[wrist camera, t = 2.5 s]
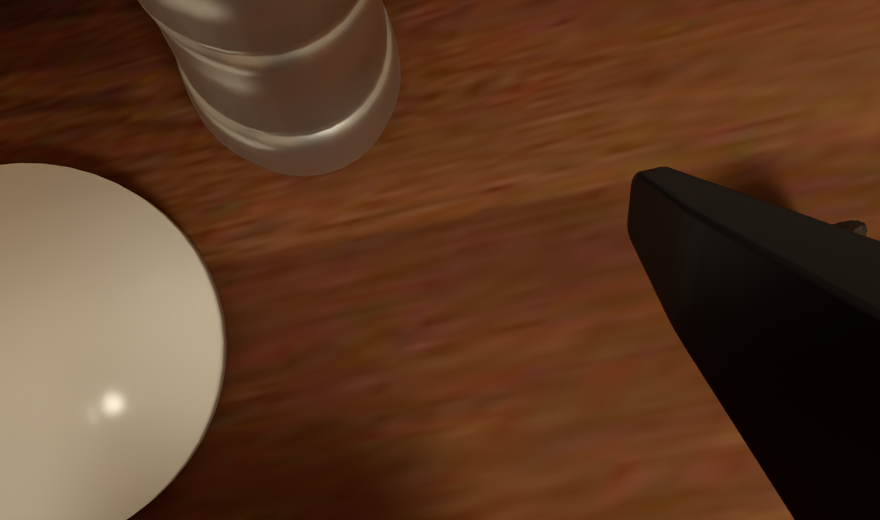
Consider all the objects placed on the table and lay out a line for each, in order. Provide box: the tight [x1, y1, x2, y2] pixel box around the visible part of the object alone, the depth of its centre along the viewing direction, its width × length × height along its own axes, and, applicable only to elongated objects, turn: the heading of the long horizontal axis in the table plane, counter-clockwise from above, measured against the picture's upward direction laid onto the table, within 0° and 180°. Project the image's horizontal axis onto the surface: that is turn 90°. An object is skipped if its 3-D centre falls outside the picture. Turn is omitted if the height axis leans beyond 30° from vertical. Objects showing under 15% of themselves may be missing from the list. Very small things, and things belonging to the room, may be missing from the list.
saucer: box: [0, 163, 227, 520], centre depth 20 cm, size 12×12×1 cm
